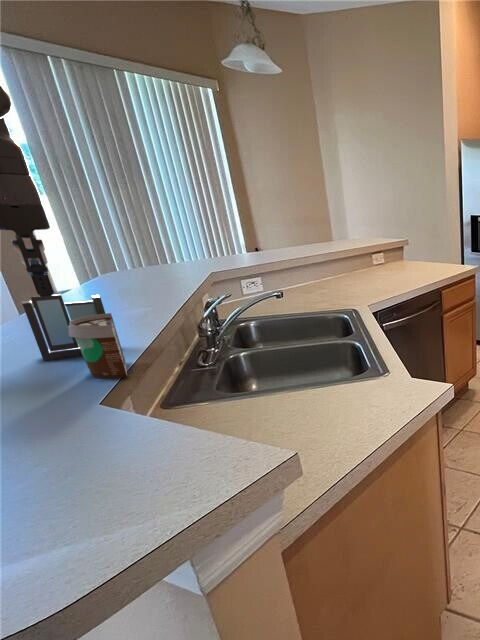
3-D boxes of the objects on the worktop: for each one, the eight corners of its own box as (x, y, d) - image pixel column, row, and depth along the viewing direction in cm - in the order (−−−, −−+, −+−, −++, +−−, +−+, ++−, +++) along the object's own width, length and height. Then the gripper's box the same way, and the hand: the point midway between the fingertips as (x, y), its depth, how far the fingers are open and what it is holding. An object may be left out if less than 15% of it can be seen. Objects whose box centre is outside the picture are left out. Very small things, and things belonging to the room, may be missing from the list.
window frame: (43, 361, 88) (22, 303, 84) (42, 357, 90) (21, 301, 85) (116, 350, 95) (100, 297, 91) (114, 347, 97) (98, 295, 93)
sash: (50, 351, 88) (22, 273, 83) (50, 350, 89) (21, 272, 83) (79, 347, 91) (53, 271, 86) (78, 346, 92) (52, 271, 86)
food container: (84, 367, 85) (67, 316, 82) (125, 361, 89) (110, 312, 85) (81, 386, 77) (61, 330, 73) (127, 379, 80) (110, 325, 77)
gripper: (-17, 200, 82) (16, 288, 88) (-20, 201, 73) (17, 299, 79) (40, 202, 87) (68, 285, 93) (44, 202, 78) (74, 294, 84)
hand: (45, 291), depth 86 cm, fingers open, 8 cm apart
